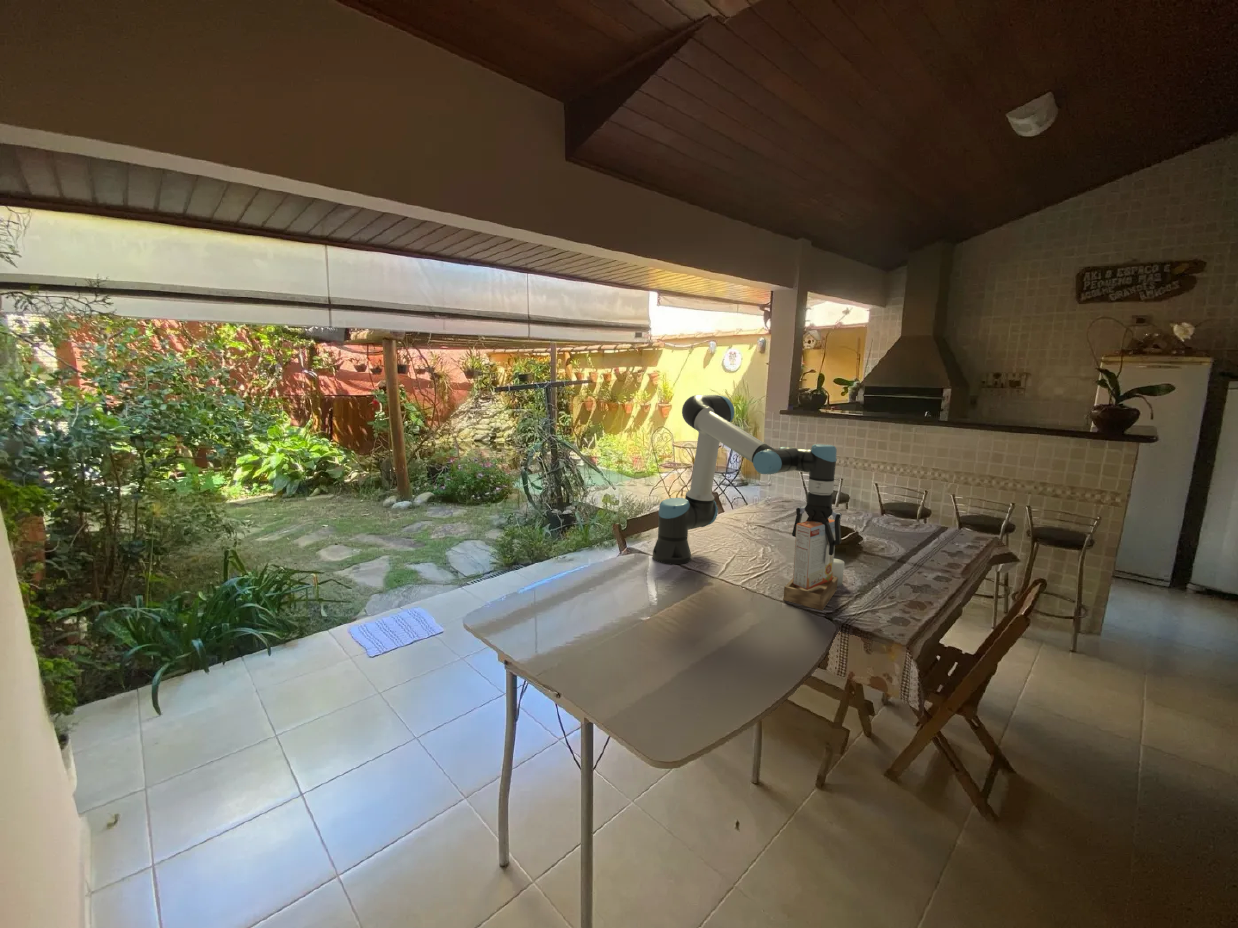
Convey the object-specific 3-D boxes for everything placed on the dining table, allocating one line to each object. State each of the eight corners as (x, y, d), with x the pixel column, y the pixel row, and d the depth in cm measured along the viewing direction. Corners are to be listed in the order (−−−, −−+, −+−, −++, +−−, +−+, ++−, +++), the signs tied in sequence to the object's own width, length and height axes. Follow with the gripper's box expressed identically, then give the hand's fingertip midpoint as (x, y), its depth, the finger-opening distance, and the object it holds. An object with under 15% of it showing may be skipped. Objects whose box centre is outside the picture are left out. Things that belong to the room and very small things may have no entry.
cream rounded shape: (822, 583, 171) (824, 561, 170) (826, 578, 176) (828, 557, 175) (840, 587, 168) (842, 565, 166) (843, 582, 172) (846, 560, 171)
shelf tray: (783, 599, 156) (784, 586, 156) (800, 581, 172) (801, 569, 172) (822, 610, 149) (823, 596, 149) (836, 589, 165) (838, 577, 165)
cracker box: (816, 574, 166) (821, 516, 163) (832, 580, 162) (838, 520, 158) (790, 584, 159) (795, 522, 155) (807, 590, 154) (812, 527, 150)
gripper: (784, 490, 158) (779, 557, 162) (852, 499, 147) (845, 571, 150) (791, 486, 164) (786, 551, 168) (857, 495, 153) (849, 565, 156)
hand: (814, 560), depth 159 cm, fingers closed on cracker box, 7 cm apart
